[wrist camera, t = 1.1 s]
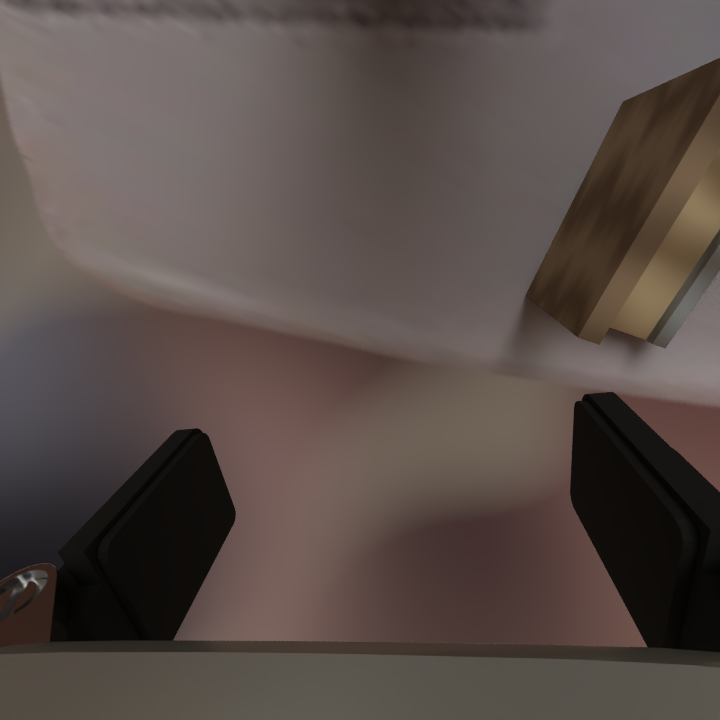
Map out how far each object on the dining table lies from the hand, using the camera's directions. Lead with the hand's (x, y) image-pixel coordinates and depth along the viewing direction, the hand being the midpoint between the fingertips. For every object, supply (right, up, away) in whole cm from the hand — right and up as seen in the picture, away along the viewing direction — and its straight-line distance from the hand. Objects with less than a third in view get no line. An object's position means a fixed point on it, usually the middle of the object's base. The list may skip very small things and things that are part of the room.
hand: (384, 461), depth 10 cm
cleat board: (+24, +13, +23) cm, 36 cm away
